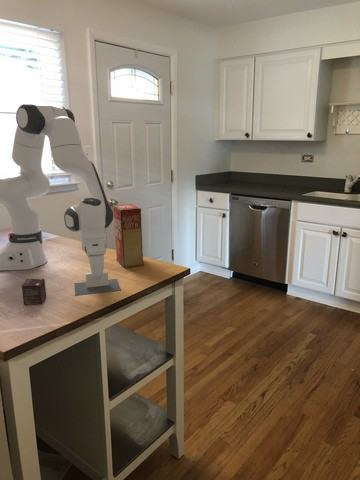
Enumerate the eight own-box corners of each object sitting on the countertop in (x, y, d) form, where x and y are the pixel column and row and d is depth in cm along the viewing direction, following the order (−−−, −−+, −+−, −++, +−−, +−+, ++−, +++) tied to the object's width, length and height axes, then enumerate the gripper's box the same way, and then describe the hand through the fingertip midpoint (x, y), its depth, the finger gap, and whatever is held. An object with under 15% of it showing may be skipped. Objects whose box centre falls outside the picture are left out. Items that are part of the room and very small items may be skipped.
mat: (75, 296, 135) (75, 295, 135) (74, 284, 146) (74, 283, 146) (121, 291, 139) (121, 290, 139) (117, 279, 150) (116, 278, 150)
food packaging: (115, 259, 175) (112, 204, 168) (135, 256, 178) (133, 203, 172) (123, 268, 163) (120, 209, 157) (144, 265, 167) (142, 208, 160)
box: (29, 298, 133) (26, 278, 131) (46, 298, 133) (44, 278, 132) (23, 306, 127) (21, 285, 125) (42, 305, 128) (40, 284, 126)
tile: (86, 287, 141) (85, 274, 140) (86, 285, 143) (85, 273, 142) (108, 285, 143) (107, 272, 142) (108, 283, 145) (107, 270, 144)
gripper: (83, 237, 148) (86, 271, 151) (86, 252, 129) (89, 291, 132) (100, 236, 150) (102, 270, 153) (105, 250, 131) (108, 289, 134)
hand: (96, 279), depth 143 cm, fingers open, 8 cm apart
